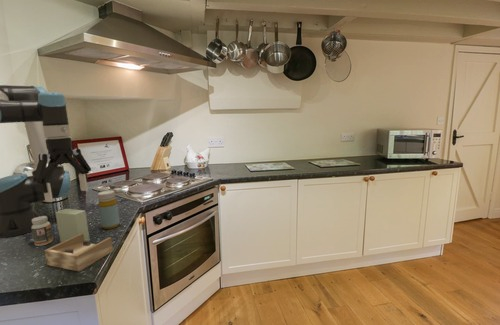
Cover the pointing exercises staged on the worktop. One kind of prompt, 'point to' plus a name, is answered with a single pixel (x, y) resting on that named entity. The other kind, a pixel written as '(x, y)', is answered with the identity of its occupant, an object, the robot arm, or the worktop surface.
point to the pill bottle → (41, 231)
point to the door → (72, 224)
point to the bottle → (108, 209)
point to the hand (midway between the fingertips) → (67, 195)
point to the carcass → (77, 253)
